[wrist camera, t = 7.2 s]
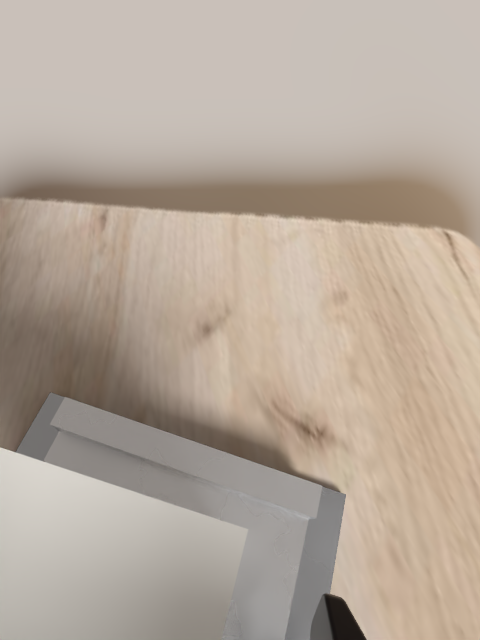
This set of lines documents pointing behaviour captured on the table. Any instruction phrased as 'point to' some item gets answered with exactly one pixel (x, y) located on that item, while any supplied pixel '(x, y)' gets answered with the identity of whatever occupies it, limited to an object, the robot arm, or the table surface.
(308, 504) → the rail panel
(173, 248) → the table surface
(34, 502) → the block
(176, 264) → the table surface
